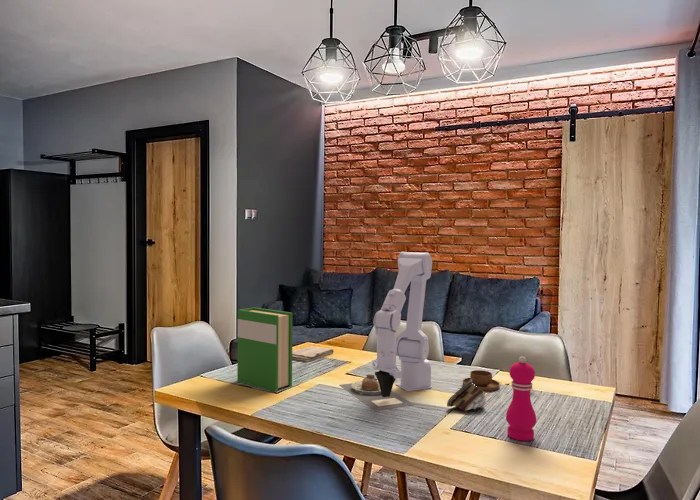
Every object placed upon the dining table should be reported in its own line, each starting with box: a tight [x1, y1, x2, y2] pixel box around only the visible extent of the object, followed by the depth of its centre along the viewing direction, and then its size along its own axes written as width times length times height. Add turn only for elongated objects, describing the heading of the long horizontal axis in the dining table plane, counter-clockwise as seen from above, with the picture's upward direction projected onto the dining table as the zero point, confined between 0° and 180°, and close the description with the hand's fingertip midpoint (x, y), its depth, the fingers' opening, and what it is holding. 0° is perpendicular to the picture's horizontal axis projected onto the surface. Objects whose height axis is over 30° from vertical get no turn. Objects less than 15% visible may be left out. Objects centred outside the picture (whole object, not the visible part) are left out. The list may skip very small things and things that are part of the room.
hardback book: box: [236, 307, 294, 392], centre depth 171 cm, size 18×7×24 cm, turn 54°
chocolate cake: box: [446, 379, 487, 412], centre depth 150 cm, size 10×7×12 cm
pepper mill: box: [505, 355, 537, 442], centre depth 130 cm, size 7×7×20 cm
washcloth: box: [292, 345, 334, 363], centre depth 210 cm, size 12×18×3 cm, turn 149°
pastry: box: [351, 374, 381, 395], centre depth 166 cm, size 12×12×5 cm
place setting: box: [458, 369, 510, 392], centre depth 170 cm, size 18×20×6 cm
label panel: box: [339, 382, 415, 411], centre depth 162 cm, size 13×26×1 cm, turn 24°
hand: (385, 396), depth 155 cm, fingers closed
